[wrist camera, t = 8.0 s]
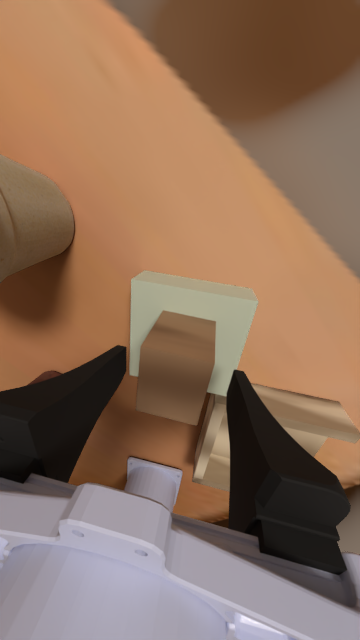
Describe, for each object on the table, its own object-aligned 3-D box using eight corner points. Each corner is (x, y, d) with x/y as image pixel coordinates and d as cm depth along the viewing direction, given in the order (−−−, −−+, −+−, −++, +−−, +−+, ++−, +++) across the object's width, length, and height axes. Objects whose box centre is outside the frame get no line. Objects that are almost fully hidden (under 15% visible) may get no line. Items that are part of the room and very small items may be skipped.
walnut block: (202, 373, 17) (196, 425, 13) (156, 362, 18) (135, 410, 13) (216, 321, 15) (214, 363, 11) (163, 310, 15) (140, 346, 11)
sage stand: (226, 374, 21) (227, 396, 18) (140, 355, 21) (129, 374, 19) (251, 288, 16) (258, 301, 14) (144, 270, 17) (131, 279, 15)
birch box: (289, 475, 26) (299, 510, 22) (195, 451, 27) (192, 481, 24) (339, 402, 20) (361, 435, 17) (215, 375, 21) (215, 402, 18)
